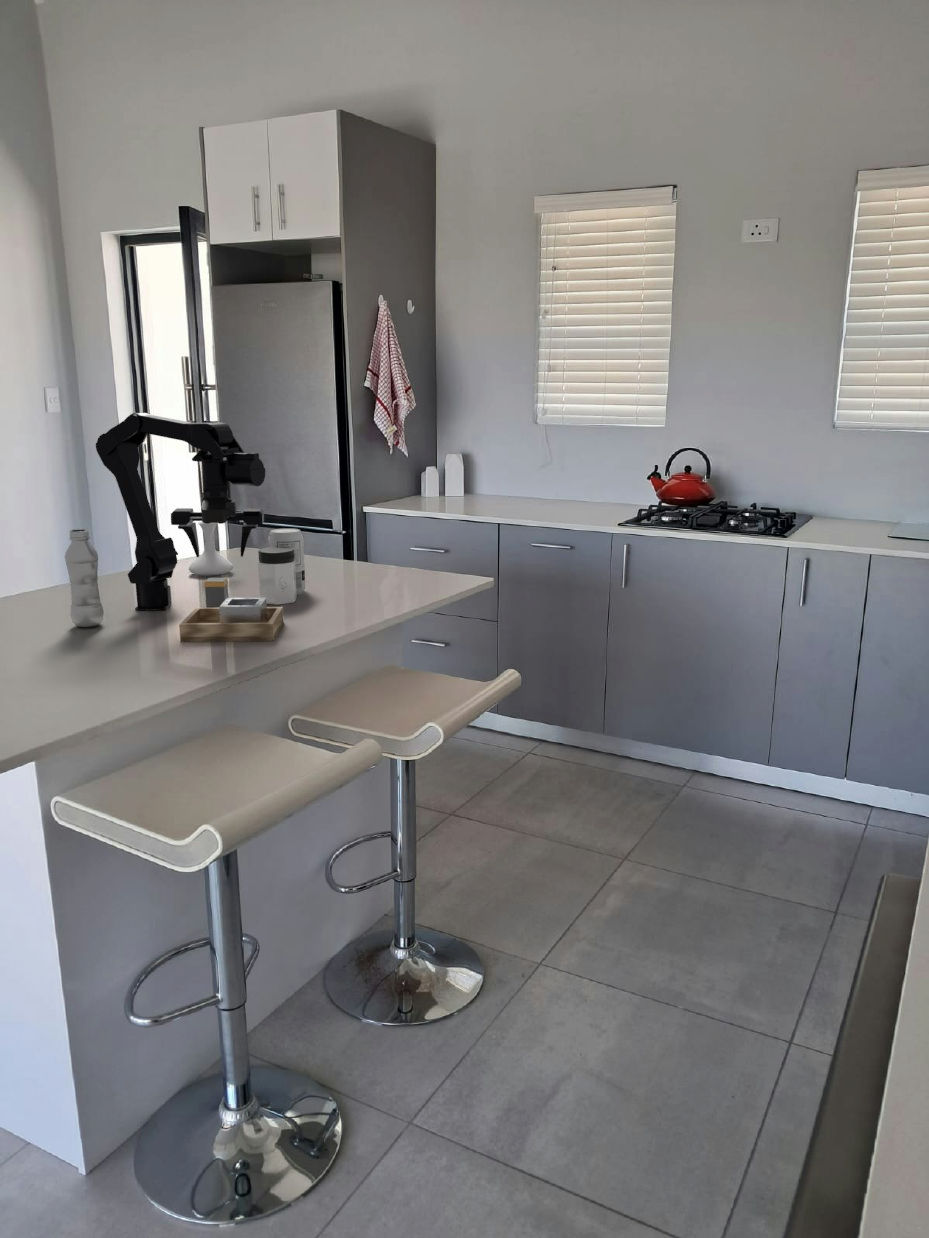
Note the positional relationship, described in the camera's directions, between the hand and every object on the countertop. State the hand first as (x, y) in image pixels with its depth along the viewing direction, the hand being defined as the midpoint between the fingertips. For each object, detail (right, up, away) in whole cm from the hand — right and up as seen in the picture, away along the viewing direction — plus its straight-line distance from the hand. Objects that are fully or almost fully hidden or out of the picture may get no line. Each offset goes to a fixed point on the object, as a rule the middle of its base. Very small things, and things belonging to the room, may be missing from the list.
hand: (220, 556), depth 199 cm
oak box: (+6, -16, -11) cm, 20 cm away
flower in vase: (-14, -2, +46) cm, 48 cm away
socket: (+8, -16, -10) cm, 20 cm away
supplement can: (+10, -7, +25) cm, 28 cm away
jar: (+9, -9, +16) cm, 21 cm away
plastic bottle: (-26, -15, -7) cm, 30 cm away
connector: (-1, -13, +2) cm, 13 cm away
